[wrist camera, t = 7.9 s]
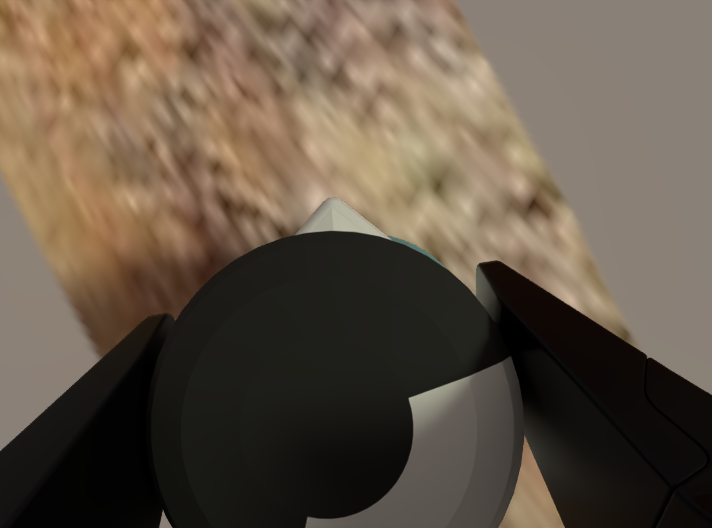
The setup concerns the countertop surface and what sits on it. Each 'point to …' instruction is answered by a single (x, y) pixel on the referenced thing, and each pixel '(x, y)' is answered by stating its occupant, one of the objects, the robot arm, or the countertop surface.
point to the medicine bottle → (334, 391)
